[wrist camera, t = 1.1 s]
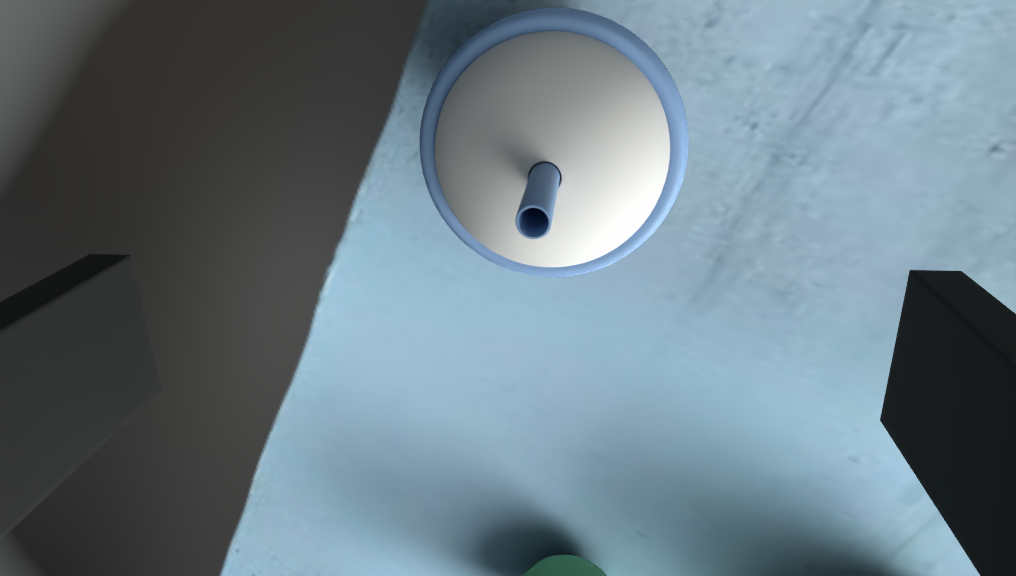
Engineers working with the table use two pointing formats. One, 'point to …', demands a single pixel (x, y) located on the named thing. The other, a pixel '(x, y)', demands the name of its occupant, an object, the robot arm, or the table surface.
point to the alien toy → (564, 567)
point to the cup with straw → (554, 142)
